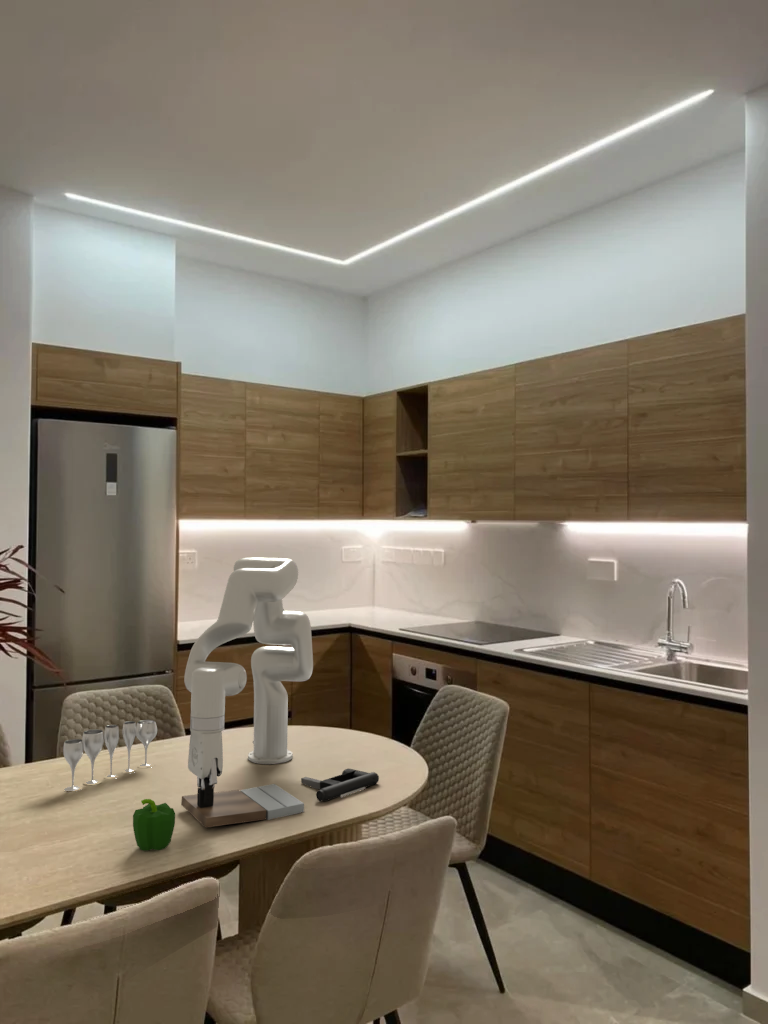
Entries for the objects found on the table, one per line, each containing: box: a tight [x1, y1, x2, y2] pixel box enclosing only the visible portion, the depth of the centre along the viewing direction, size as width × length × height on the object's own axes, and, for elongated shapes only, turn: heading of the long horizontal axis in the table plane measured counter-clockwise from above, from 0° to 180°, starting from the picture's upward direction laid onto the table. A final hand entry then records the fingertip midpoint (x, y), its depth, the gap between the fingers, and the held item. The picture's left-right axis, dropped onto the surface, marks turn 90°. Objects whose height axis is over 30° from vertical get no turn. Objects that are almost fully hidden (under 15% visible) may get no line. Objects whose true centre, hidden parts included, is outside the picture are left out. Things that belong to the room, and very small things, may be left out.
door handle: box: [300, 768, 380, 802], centre depth 197 cm, size 3×20×16 cm
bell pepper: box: [132, 798, 176, 852], centre depth 160 cm, size 8×8×10 cm
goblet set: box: [62, 719, 158, 792], centre depth 204 cm, size 28×6×13 cm, turn 147°
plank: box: [180, 789, 267, 828], centre depth 178 cm, size 16×14×2 cm
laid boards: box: [240, 783, 305, 821], centre depth 184 cm, size 16×9×2 cm, turn 33°
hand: (205, 805), depth 174 cm, fingers closed
